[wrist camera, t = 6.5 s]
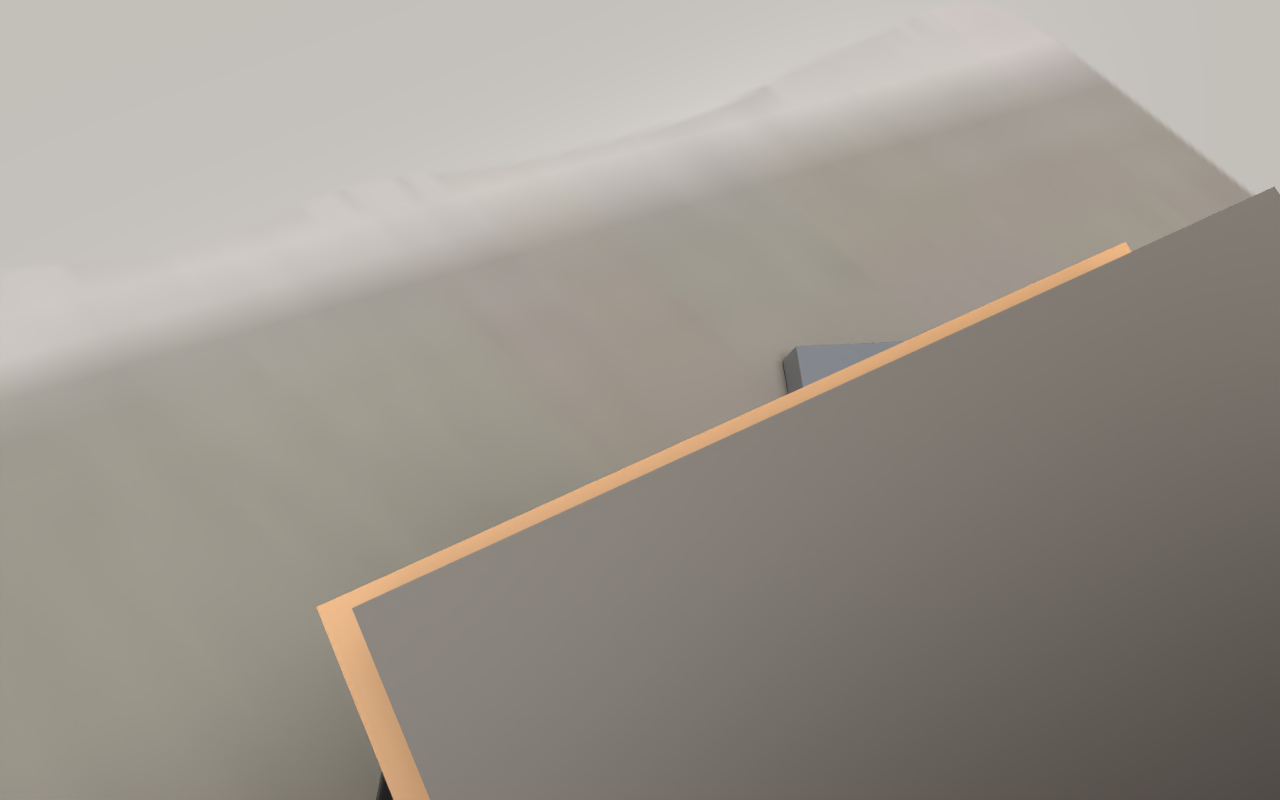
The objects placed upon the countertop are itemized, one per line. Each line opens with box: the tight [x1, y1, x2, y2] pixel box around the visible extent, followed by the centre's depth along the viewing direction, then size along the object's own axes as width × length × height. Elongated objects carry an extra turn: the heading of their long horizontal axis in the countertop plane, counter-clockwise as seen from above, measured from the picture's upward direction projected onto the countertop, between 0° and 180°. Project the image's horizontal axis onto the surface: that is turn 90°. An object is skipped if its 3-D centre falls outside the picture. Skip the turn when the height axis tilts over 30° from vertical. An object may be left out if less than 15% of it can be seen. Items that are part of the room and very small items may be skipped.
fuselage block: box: [317, 187, 1280, 800], centre depth 9 cm, size 4×4×13 cm
